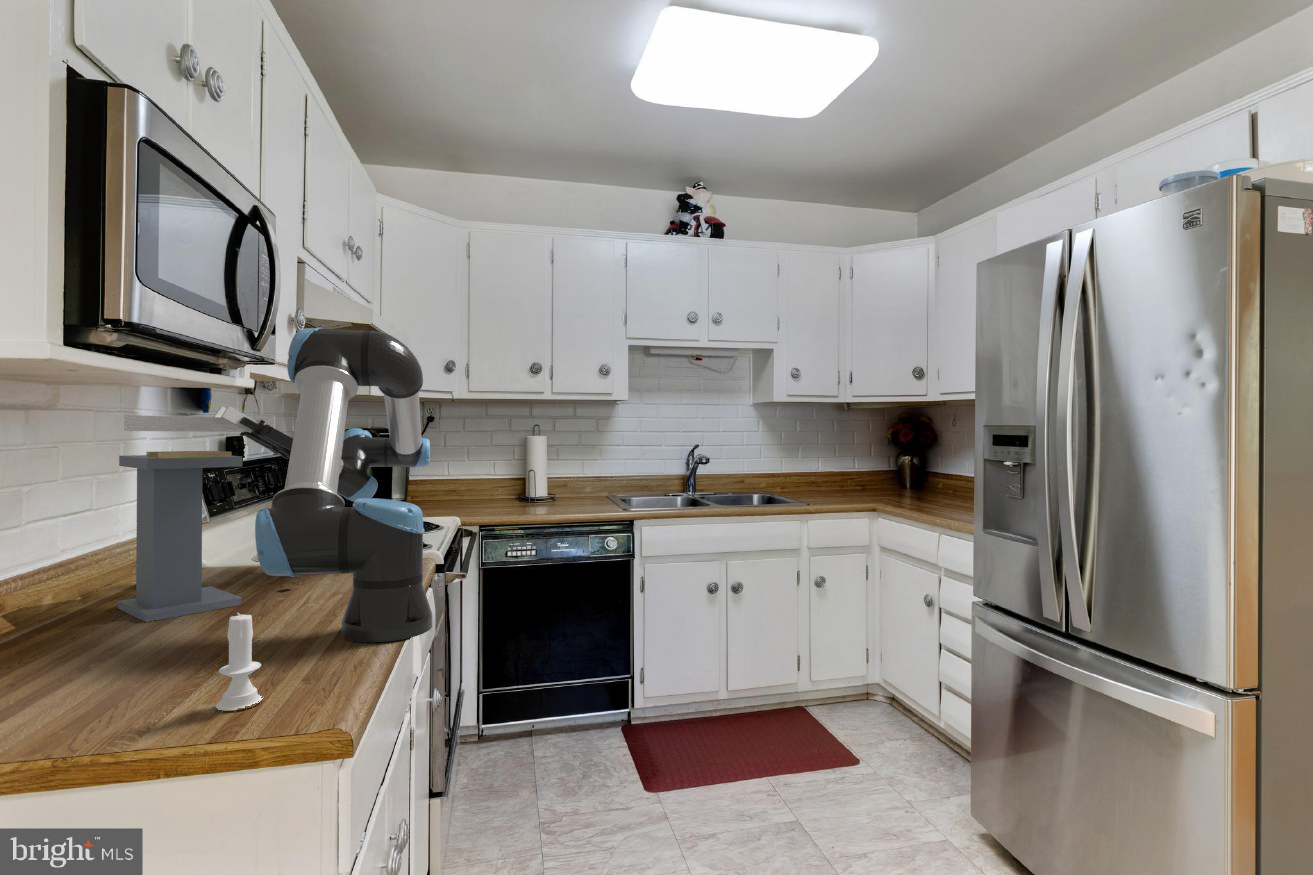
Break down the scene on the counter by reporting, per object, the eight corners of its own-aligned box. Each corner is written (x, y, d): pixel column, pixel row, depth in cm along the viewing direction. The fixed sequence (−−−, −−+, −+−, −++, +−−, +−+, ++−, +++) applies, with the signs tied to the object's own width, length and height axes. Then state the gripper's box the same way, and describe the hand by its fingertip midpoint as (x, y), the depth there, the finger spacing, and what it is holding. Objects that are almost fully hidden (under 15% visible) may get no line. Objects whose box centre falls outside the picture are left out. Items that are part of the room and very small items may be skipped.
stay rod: (266, 431, 150) (266, 418, 150) (273, 432, 148) (273, 418, 148) (124, 430, 129) (124, 415, 129) (129, 431, 127) (129, 415, 127)
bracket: (216, 455, 137) (216, 450, 137) (231, 456, 133) (231, 451, 133) (146, 456, 128) (146, 451, 128) (159, 458, 123) (159, 452, 123)
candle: (208, 714, 84) (209, 619, 84) (225, 697, 89) (226, 608, 89) (255, 710, 85) (256, 617, 85) (269, 694, 91) (270, 606, 91)
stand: (210, 593, 144) (211, 454, 144) (241, 604, 135) (242, 456, 135) (118, 608, 131) (119, 455, 131) (145, 622, 122) (146, 458, 122)
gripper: (326, 479, 152) (228, 427, 135) (291, 476, 161) (195, 426, 145) (342, 451, 155) (248, 395, 138) (307, 449, 164) (215, 397, 147)
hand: (221, 411), depth 141 cm, fingers closed on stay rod, 3 cm apart
